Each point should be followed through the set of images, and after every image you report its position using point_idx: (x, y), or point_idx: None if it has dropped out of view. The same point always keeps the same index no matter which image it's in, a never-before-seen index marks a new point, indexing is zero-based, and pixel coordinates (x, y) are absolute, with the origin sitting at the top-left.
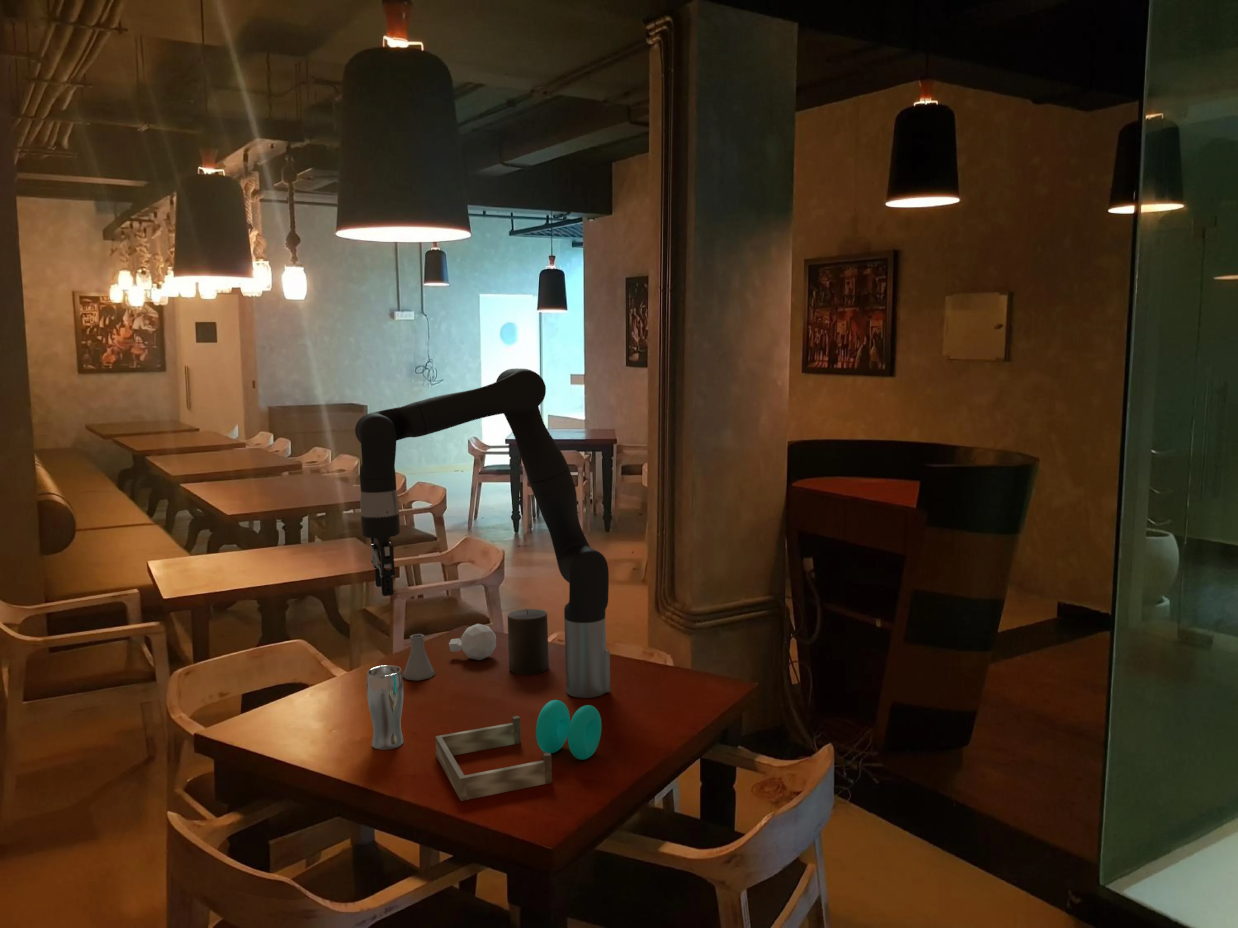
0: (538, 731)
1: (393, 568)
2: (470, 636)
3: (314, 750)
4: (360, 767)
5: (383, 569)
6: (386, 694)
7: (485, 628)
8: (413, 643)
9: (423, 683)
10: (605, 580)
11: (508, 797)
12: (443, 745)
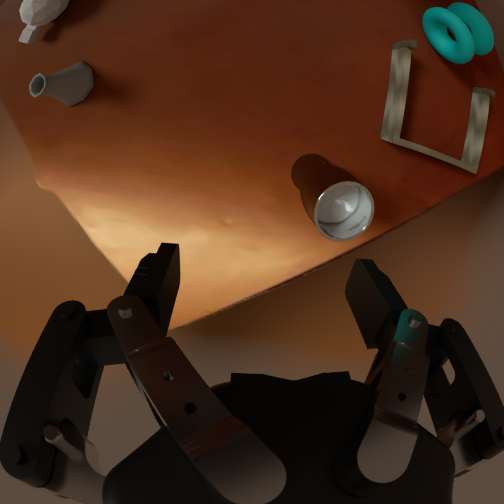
0: (463, 63)
1: (469, 347)
2: (44, 7)
3: (277, 251)
4: None
5: (444, 379)
6: (360, 206)
7: None
8: (47, 91)
9: (105, 78)
10: None
11: None
12: (418, 148)
